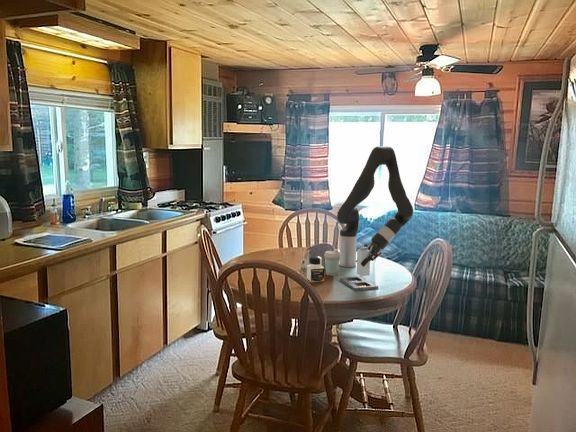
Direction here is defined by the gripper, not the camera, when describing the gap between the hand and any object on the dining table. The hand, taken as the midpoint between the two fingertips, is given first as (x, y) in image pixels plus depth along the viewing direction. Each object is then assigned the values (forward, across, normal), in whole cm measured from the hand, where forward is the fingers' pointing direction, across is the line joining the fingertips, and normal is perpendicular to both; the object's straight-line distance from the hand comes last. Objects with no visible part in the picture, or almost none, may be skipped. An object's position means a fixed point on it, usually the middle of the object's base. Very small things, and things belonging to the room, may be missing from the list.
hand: (359, 263), depth 227 cm
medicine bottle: (+19, -19, -2) cm, 27 cm away
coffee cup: (+11, -26, +6) cm, 28 cm away
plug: (+3, 0, +5) cm, 6 cm away
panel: (+7, -5, +10) cm, 13 cm away
